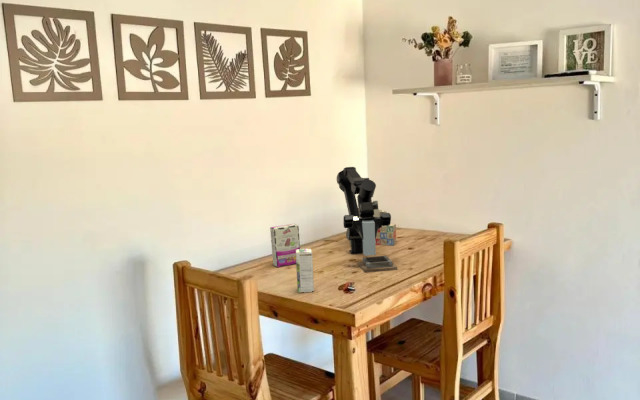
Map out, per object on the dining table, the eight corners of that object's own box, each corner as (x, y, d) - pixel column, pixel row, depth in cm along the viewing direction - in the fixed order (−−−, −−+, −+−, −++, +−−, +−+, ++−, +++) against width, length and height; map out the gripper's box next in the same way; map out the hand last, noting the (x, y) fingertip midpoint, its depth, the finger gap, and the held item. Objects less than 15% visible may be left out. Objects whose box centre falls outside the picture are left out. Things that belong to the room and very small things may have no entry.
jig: (358, 264, 238) (357, 257, 238) (389, 261, 240) (389, 254, 240) (364, 272, 226) (364, 265, 225) (397, 269, 227) (397, 262, 227)
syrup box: (297, 288, 210) (294, 249, 208) (313, 287, 211) (311, 247, 208) (297, 293, 205) (295, 252, 202) (314, 291, 205) (312, 251, 203)
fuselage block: (363, 252, 233) (361, 220, 231) (374, 252, 233) (373, 220, 231) (364, 255, 229) (362, 223, 226) (375, 254, 229) (374, 222, 227)
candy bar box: (296, 260, 249) (294, 223, 247) (301, 263, 245) (299, 224, 242) (272, 265, 244) (269, 226, 242) (276, 267, 240) (274, 228, 237)
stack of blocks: (396, 242, 273) (395, 216, 271) (393, 245, 267) (392, 219, 265) (352, 241, 280) (351, 216, 279) (349, 244, 275) (347, 218, 273)
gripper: (342, 195, 231) (345, 228, 222) (389, 192, 231) (394, 225, 222) (342, 211, 240) (345, 243, 231) (387, 208, 240) (392, 241, 231)
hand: (369, 238), depth 228 cm, fingers closed on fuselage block, 4 cm apart
